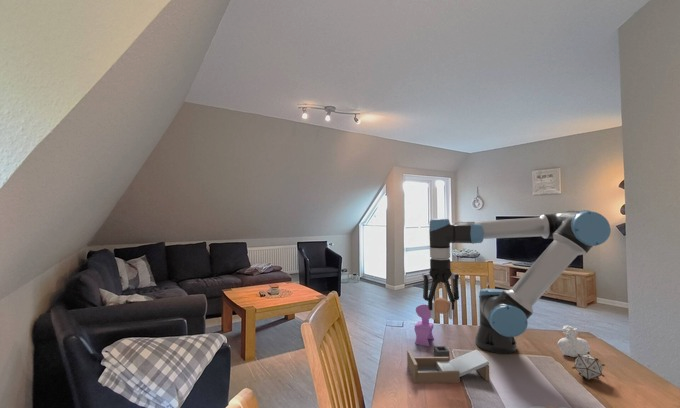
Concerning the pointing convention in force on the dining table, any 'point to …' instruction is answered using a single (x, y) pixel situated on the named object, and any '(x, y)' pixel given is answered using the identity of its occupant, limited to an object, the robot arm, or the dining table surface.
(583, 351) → the bust
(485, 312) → the robot arm
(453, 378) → the ramp with walled tray
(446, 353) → the square sleeve
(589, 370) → the game die
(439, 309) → the ball
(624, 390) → the dining table surface
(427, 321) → the toy chair
